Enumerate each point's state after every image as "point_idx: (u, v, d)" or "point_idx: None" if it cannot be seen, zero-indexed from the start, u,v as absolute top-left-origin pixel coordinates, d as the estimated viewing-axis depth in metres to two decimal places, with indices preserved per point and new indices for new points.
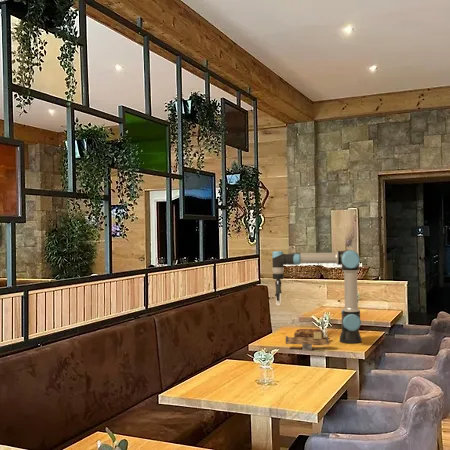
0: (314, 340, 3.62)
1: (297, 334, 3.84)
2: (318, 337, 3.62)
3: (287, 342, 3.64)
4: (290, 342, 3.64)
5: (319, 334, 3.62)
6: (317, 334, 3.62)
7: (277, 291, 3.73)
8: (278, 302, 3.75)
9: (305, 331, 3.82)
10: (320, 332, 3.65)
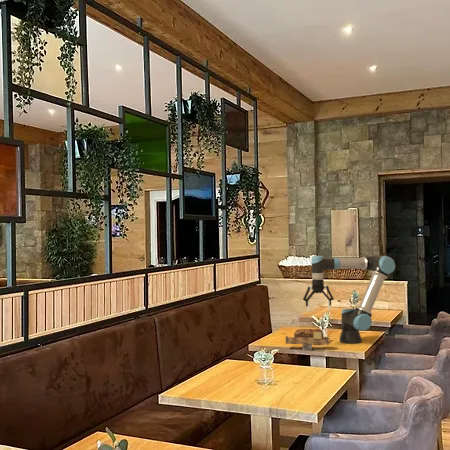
0: (314, 340, 3.62)
1: (297, 334, 3.83)
2: (318, 337, 3.62)
3: (287, 342, 3.64)
4: (290, 342, 3.64)
5: (319, 334, 3.62)
6: (317, 334, 3.62)
7: (304, 296, 3.68)
8: None
9: (305, 331, 3.82)
10: (320, 332, 3.65)
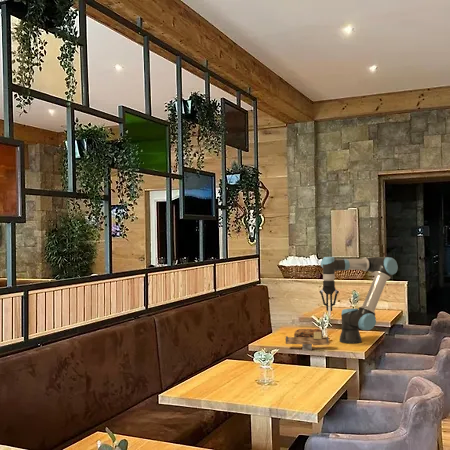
0: (314, 340, 3.62)
1: (297, 334, 3.83)
2: (318, 337, 3.62)
3: (287, 342, 3.64)
4: (290, 342, 3.64)
5: (319, 334, 3.62)
6: (317, 334, 3.62)
7: None
8: (328, 313, 3.63)
9: (305, 331, 3.82)
10: (320, 332, 3.65)
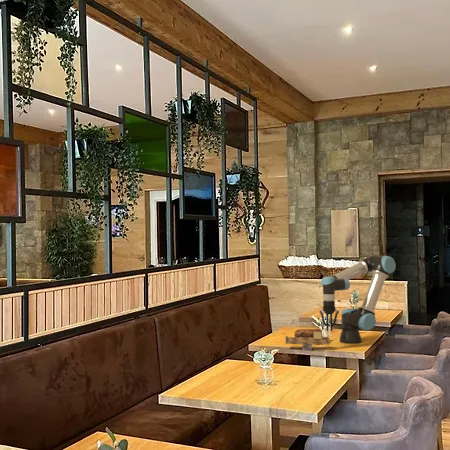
0: (314, 340, 3.62)
1: (298, 335, 3.82)
2: (318, 337, 3.62)
3: (287, 342, 3.64)
4: (290, 342, 3.64)
5: (319, 334, 3.62)
6: (317, 334, 3.62)
7: (323, 321, 3.64)
8: (328, 333, 3.63)
9: (306, 331, 3.81)
10: (320, 332, 3.65)
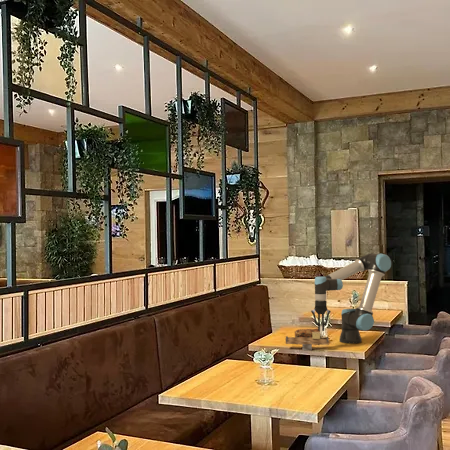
0: (314, 340, 3.62)
1: (298, 335, 3.81)
2: (317, 337, 3.62)
3: (287, 342, 3.64)
4: (290, 342, 3.64)
5: (318, 334, 3.62)
6: (316, 334, 3.62)
7: None
8: (320, 332, 3.64)
9: (306, 331, 3.81)
10: (319, 332, 3.65)
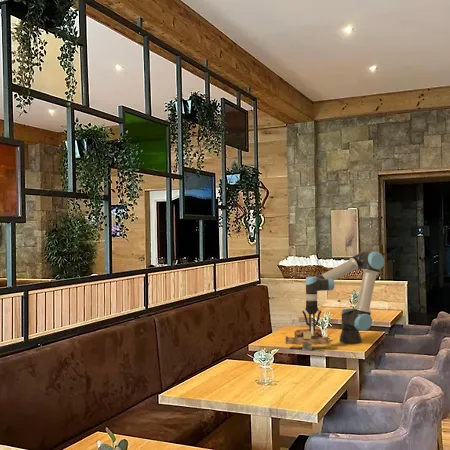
0: (314, 340, 3.62)
1: (299, 335, 3.80)
2: (308, 337, 3.63)
3: (287, 342, 3.64)
4: (290, 342, 3.64)
5: (309, 334, 3.63)
6: (307, 334, 3.63)
7: None
8: (311, 332, 3.65)
9: (307, 331, 3.81)
10: (310, 332, 3.66)
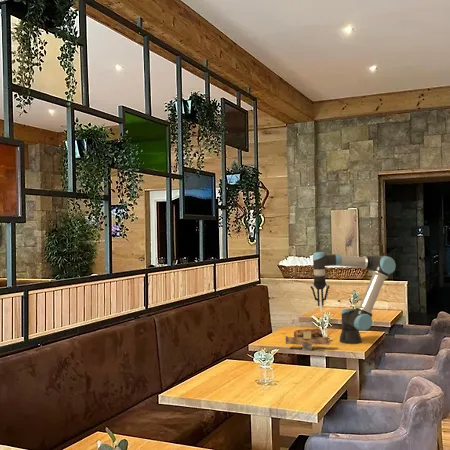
0: (314, 340, 3.62)
1: (300, 335, 3.79)
2: (308, 337, 3.63)
3: (287, 342, 3.64)
4: (290, 342, 3.64)
5: (309, 334, 3.63)
6: (307, 334, 3.63)
7: (314, 296, 3.68)
8: None
9: (307, 331, 3.81)
10: (310, 332, 3.66)
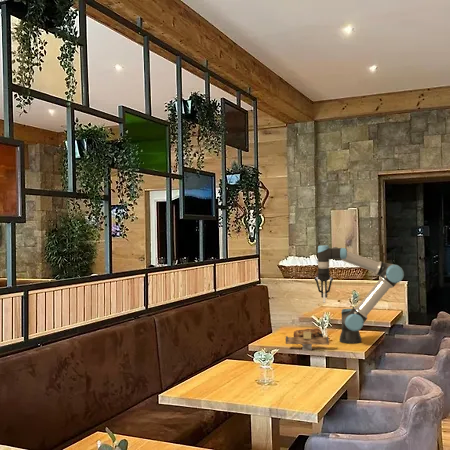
0: (314, 340, 3.62)
1: (301, 335, 3.78)
2: (308, 337, 3.63)
3: (287, 342, 3.64)
4: (290, 342, 3.64)
5: (309, 334, 3.63)
6: (307, 334, 3.63)
7: None
8: (323, 299, 3.76)
9: (308, 331, 3.80)
10: (310, 332, 3.66)
